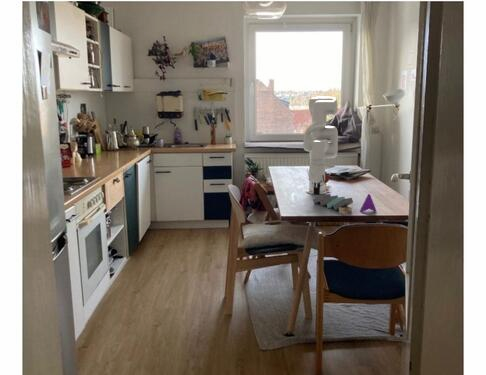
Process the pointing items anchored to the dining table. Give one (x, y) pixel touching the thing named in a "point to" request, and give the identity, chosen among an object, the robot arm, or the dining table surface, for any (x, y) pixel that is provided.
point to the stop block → (345, 209)
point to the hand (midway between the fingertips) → (316, 194)
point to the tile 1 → (321, 198)
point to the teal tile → (334, 202)
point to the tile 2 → (328, 200)
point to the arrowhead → (368, 204)
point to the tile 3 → (343, 203)
